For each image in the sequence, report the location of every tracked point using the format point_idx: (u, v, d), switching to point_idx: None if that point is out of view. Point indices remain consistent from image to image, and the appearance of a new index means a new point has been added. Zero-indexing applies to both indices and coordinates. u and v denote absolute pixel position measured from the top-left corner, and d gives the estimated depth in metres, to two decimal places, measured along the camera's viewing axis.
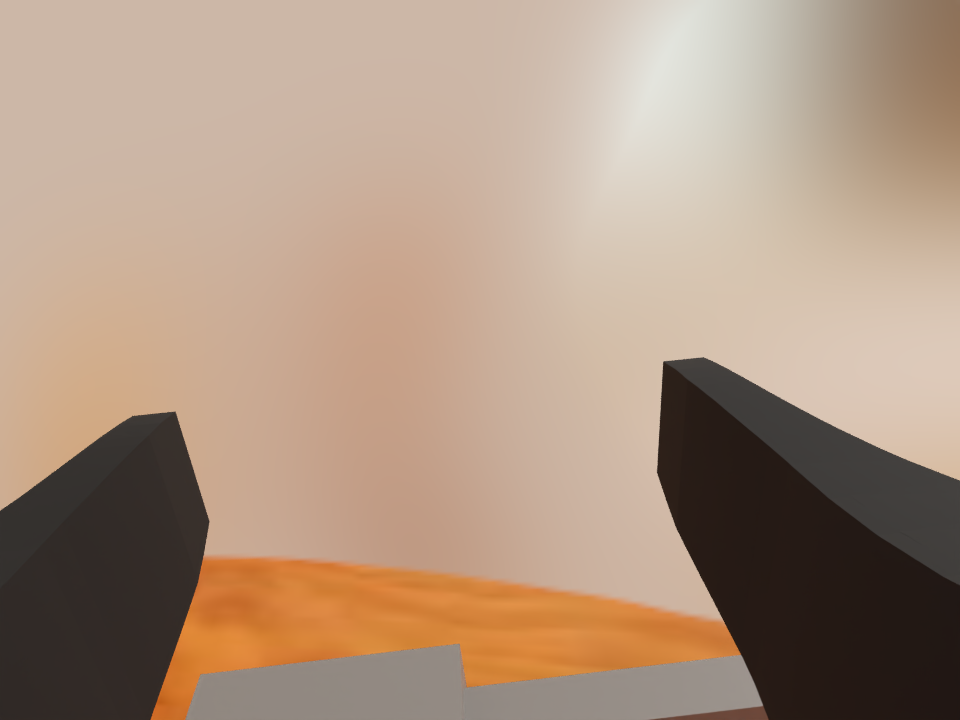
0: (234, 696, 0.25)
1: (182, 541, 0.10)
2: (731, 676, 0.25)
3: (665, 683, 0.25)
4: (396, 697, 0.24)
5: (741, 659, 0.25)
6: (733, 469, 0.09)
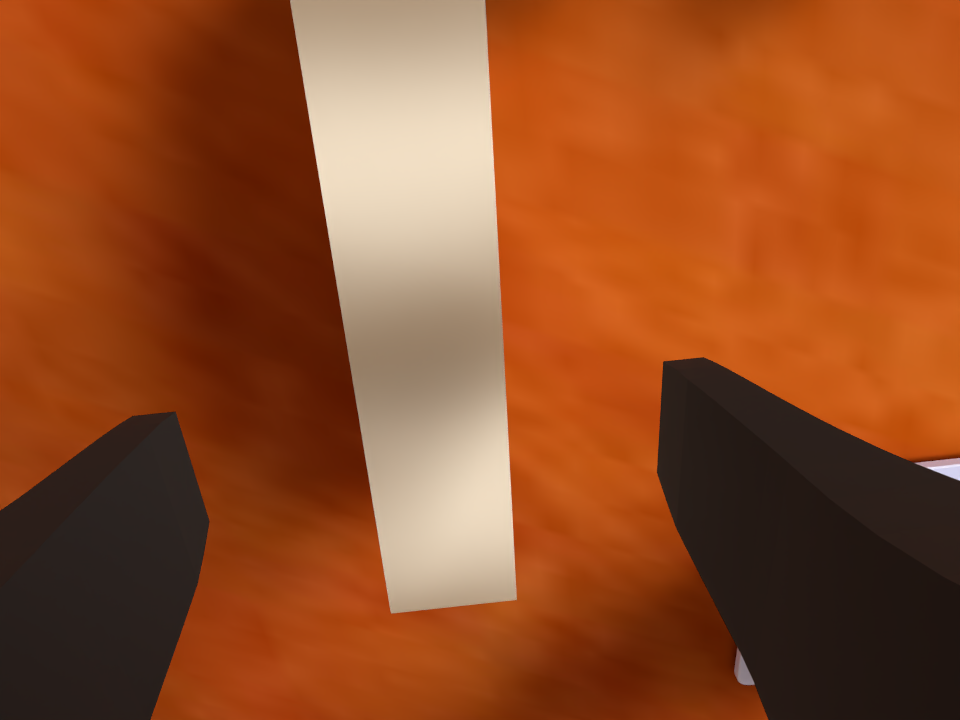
0: None
1: (182, 541, 0.10)
2: None
3: None
4: None
5: None
6: (733, 469, 0.09)
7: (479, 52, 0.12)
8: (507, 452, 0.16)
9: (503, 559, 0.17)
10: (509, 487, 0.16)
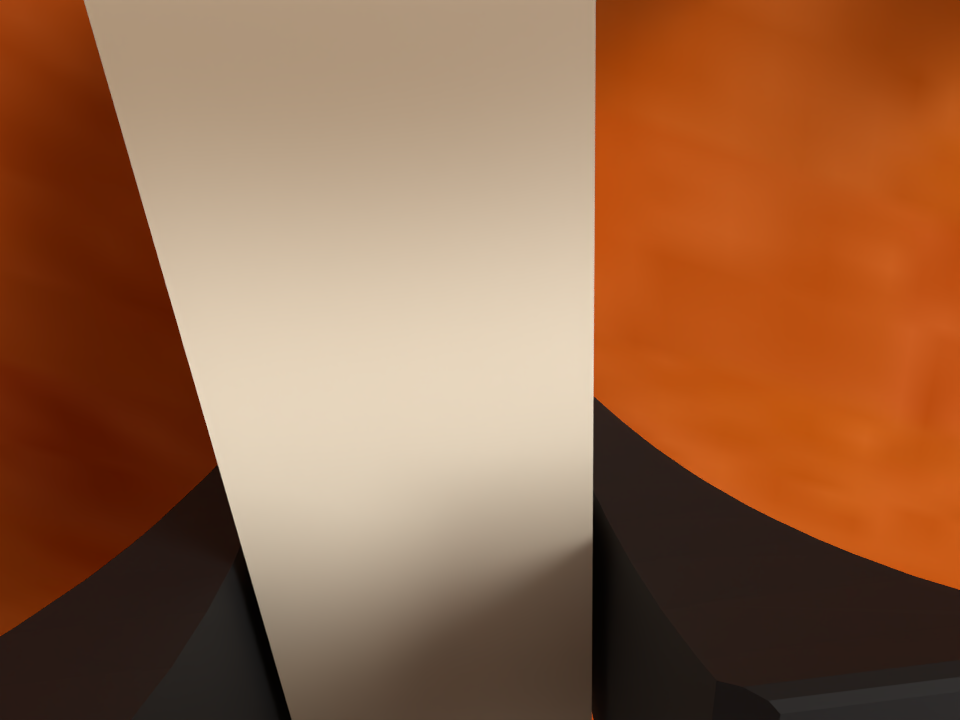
0: None
1: None
2: None
3: None
4: None
5: None
6: None
7: (575, 196, 0.05)
8: None
9: None
10: None
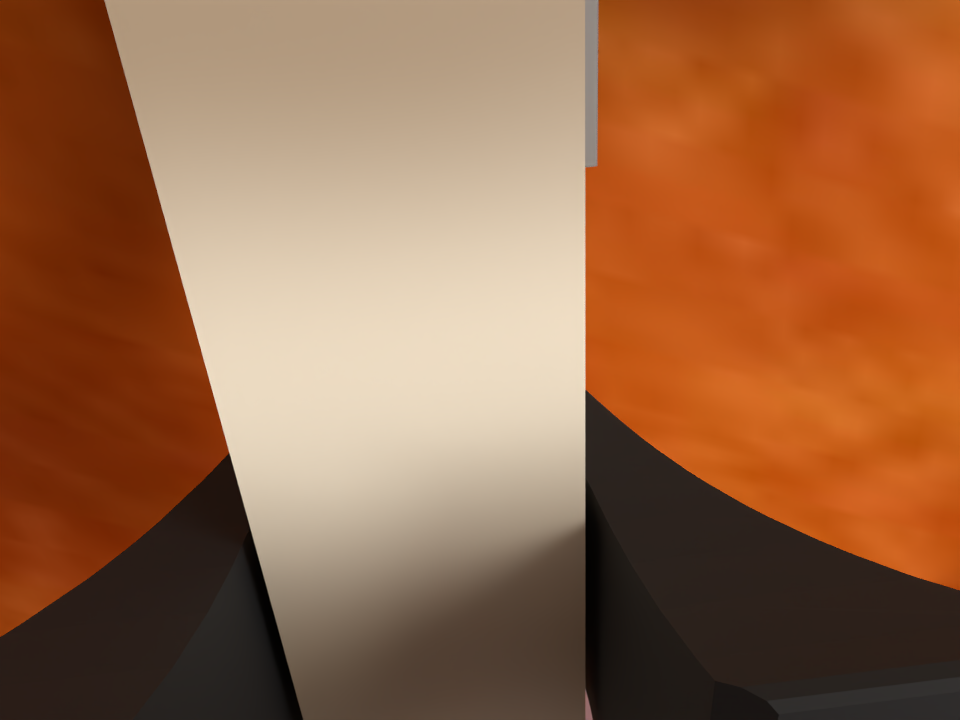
0: None
1: None
2: None
3: None
4: None
5: None
6: None
7: (566, 168, 0.05)
8: None
9: None
10: None
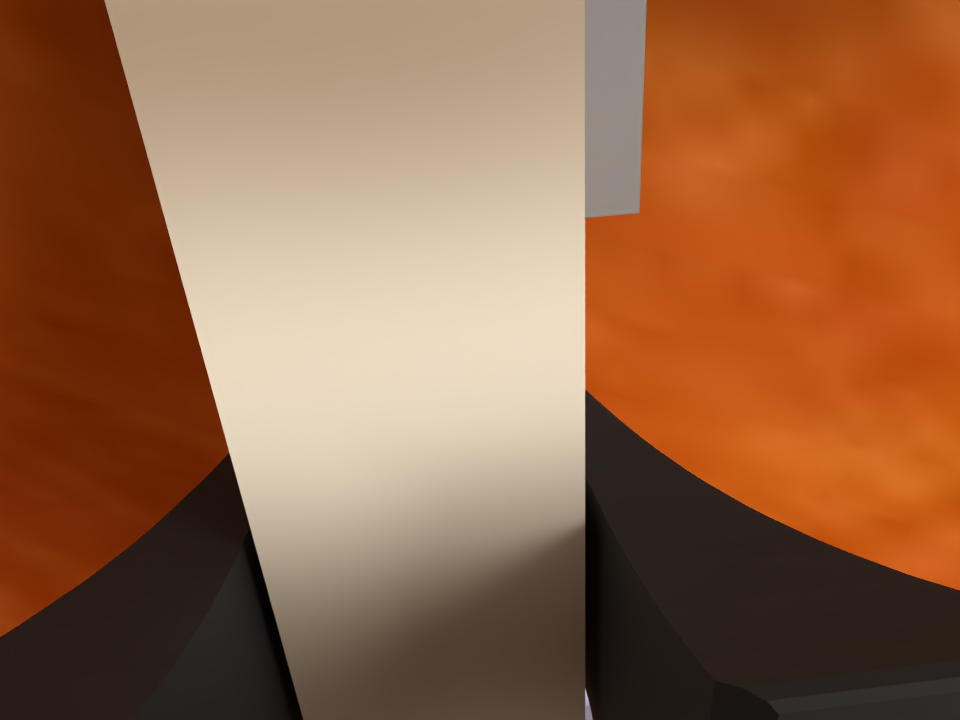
0: None
1: None
2: None
3: None
4: None
5: None
6: None
7: (566, 166, 0.05)
8: None
9: None
10: None
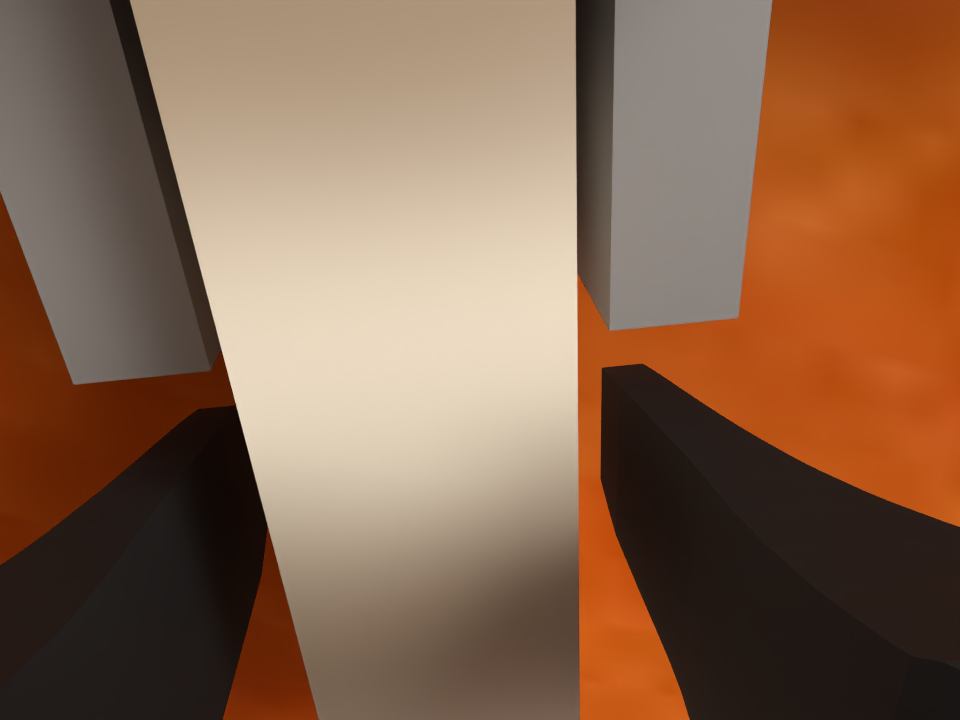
0: None
1: (248, 534, 0.10)
2: None
3: None
4: None
5: None
6: (658, 477, 0.09)
7: (559, 156, 0.06)
8: None
9: None
10: None
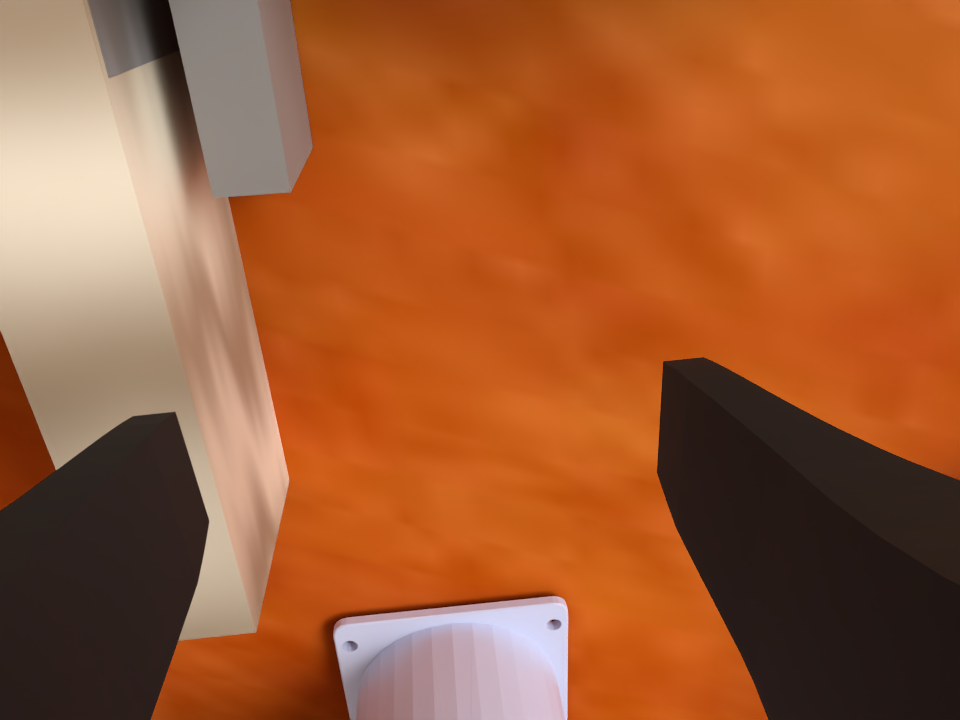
0: None
1: (182, 541, 0.10)
2: None
3: None
4: None
5: None
6: (733, 469, 0.09)
7: (97, 88, 0.12)
8: (214, 486, 0.16)
9: (233, 592, 0.17)
10: (223, 521, 0.16)
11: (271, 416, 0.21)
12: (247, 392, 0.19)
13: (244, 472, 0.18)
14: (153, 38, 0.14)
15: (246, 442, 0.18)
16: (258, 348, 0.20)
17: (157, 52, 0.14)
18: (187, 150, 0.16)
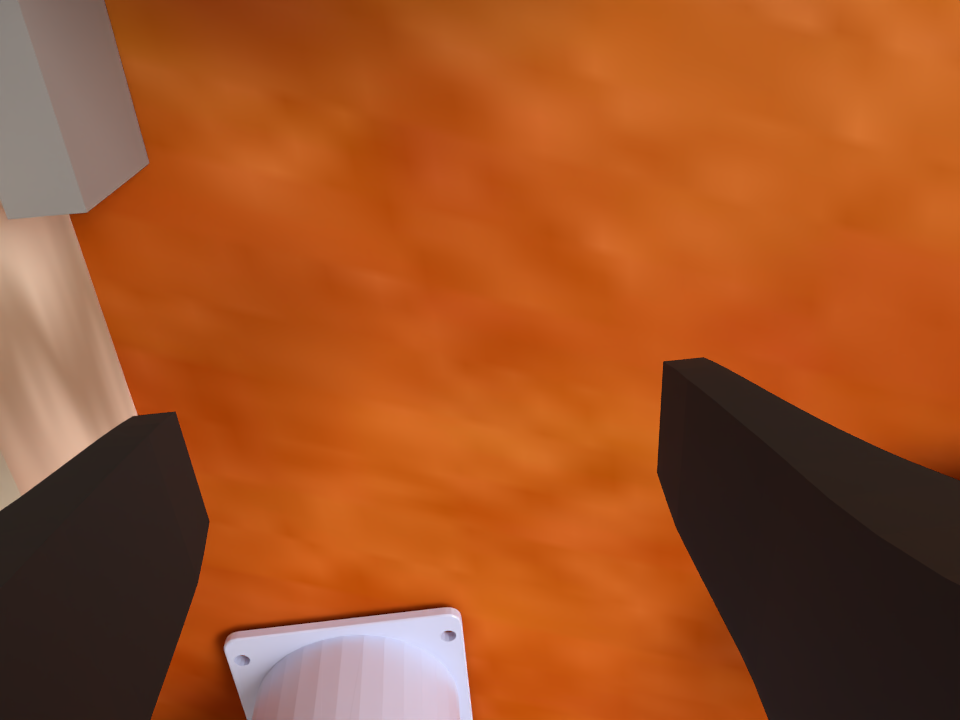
0: None
1: (182, 541, 0.10)
2: None
3: None
4: None
5: None
6: (733, 469, 0.09)
7: None
8: None
9: None
10: None
11: None
12: (93, 415, 0.19)
13: None
14: None
15: None
16: (117, 369, 0.20)
17: None
18: None
